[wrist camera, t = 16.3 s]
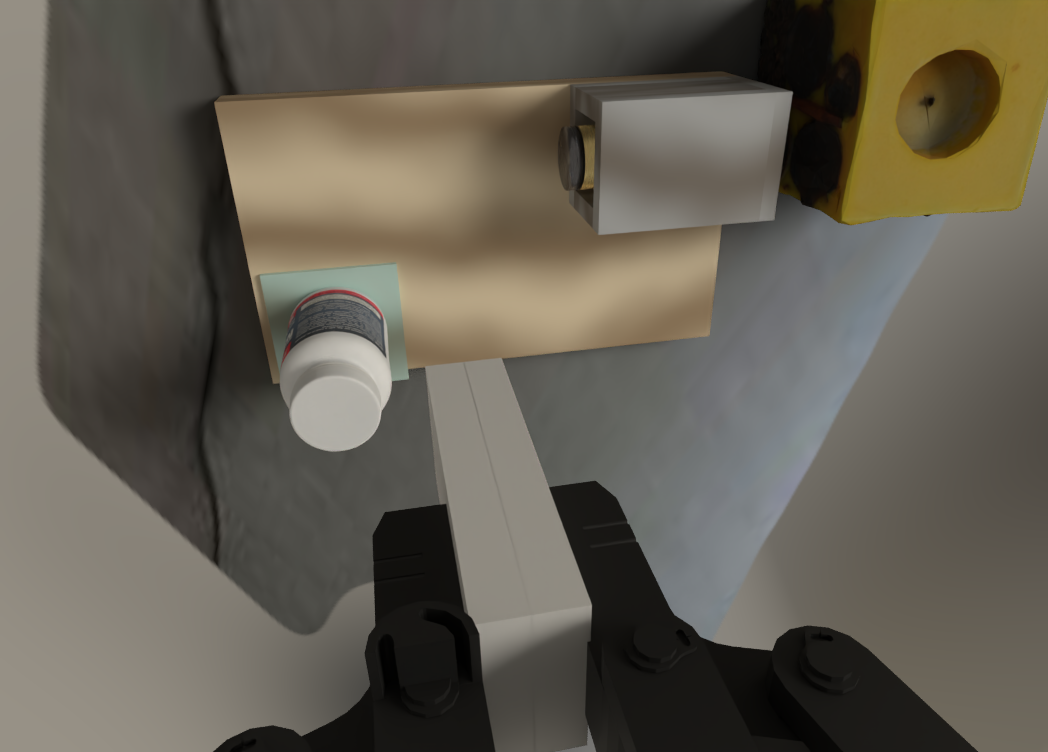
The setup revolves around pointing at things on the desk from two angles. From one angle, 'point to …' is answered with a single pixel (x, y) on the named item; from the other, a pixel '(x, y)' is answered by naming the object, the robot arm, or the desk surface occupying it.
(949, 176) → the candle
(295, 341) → the pill bottle
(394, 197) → the wooden base board
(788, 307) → the desk surface
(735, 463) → the desk surface
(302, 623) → the desk surface
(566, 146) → the pin
